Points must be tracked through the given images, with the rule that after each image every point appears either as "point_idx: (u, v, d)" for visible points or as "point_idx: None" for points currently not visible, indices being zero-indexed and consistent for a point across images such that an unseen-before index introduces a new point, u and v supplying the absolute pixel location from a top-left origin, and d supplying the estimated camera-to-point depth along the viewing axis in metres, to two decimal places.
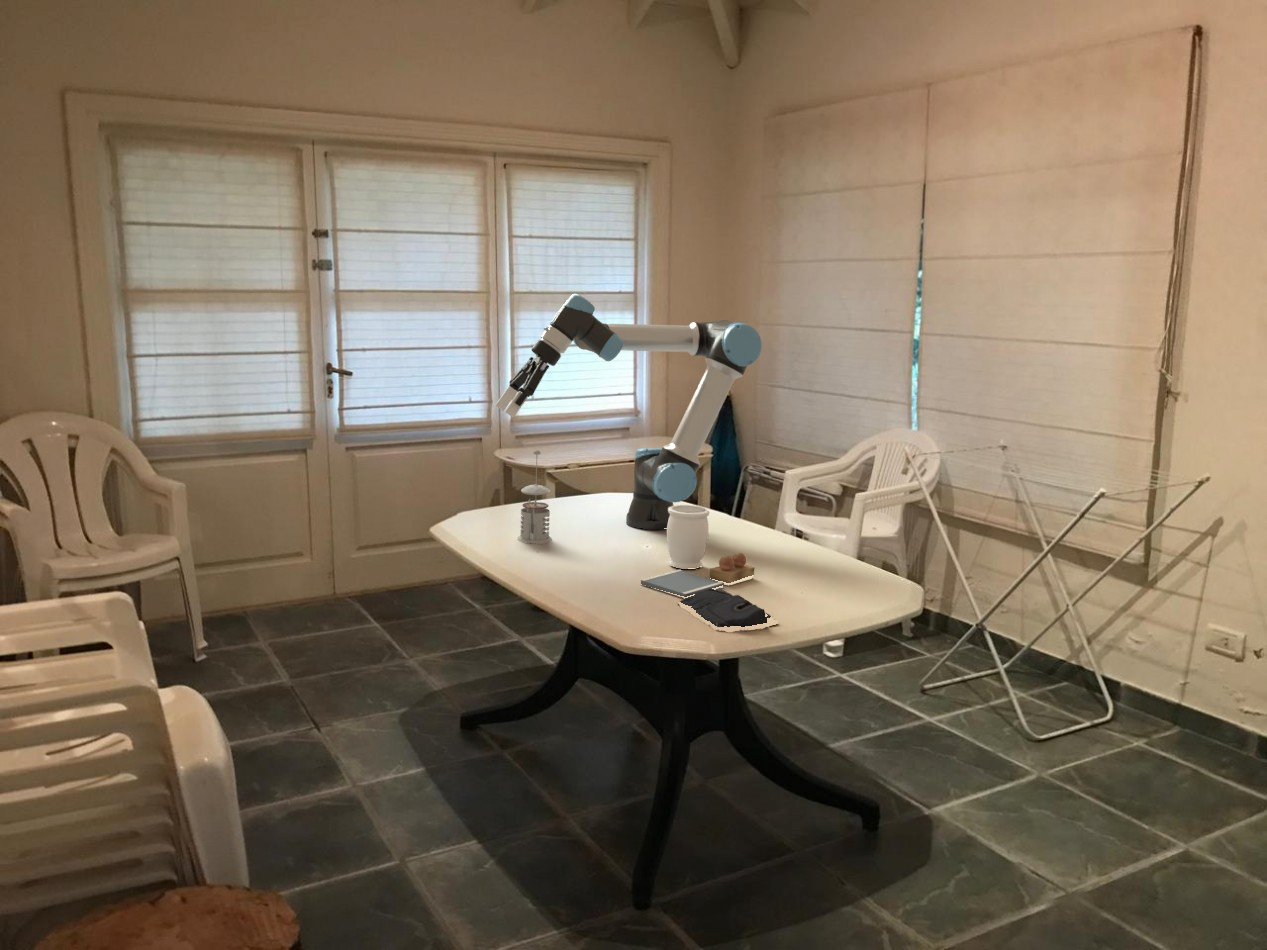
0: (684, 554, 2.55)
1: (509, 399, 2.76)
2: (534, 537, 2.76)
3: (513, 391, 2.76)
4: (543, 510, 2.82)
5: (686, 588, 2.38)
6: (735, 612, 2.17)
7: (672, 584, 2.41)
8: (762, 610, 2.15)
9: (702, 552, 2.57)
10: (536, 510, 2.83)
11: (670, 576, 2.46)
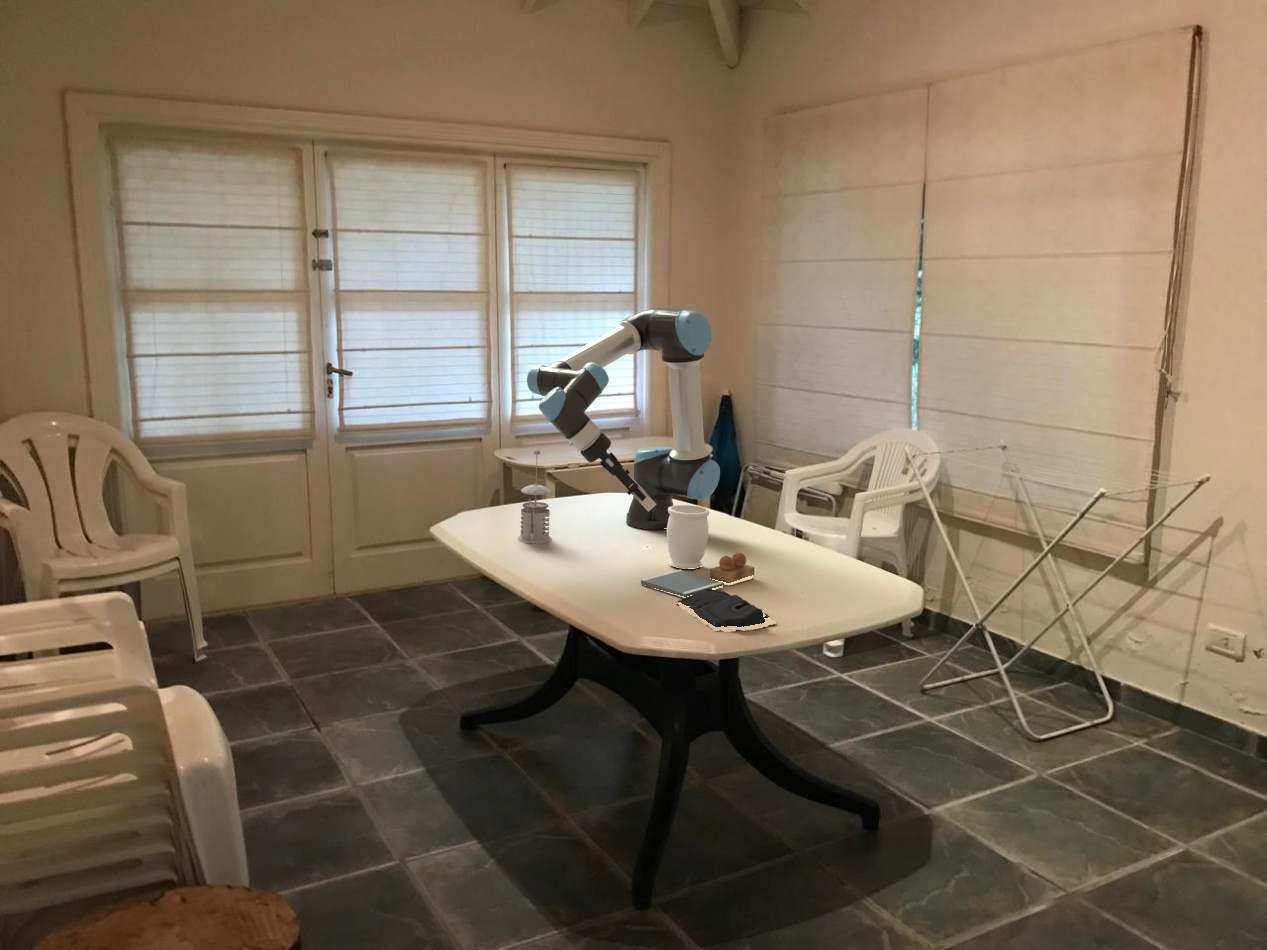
0: (684, 554, 2.55)
1: None
2: (534, 537, 2.76)
3: None
4: (543, 510, 2.82)
5: (686, 588, 2.38)
6: (733, 612, 2.17)
7: (672, 584, 2.41)
8: (760, 610, 2.15)
9: (702, 552, 2.57)
10: (536, 510, 2.83)
11: (670, 576, 2.46)
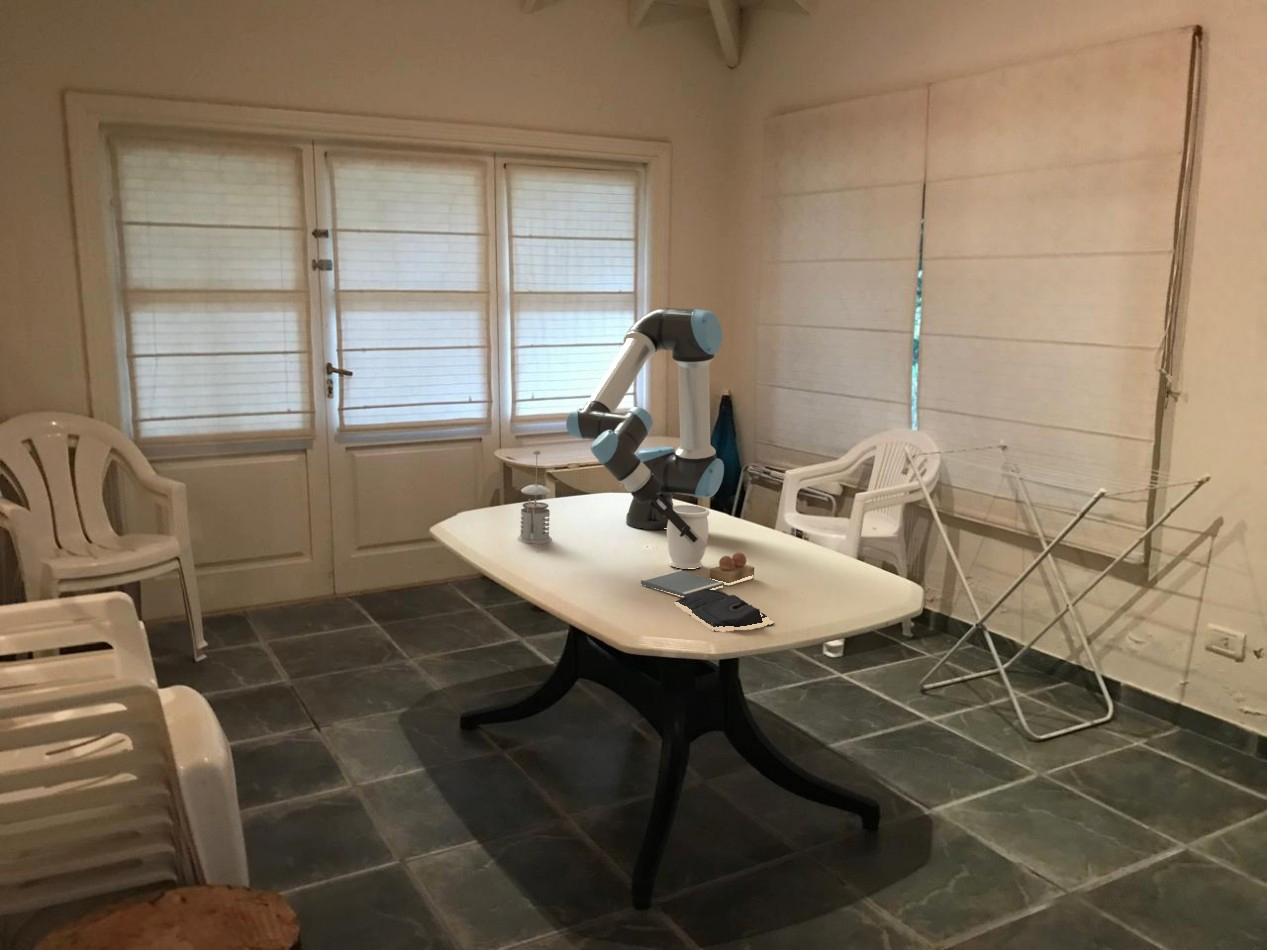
0: (684, 554, 2.55)
1: None
2: (534, 537, 2.76)
3: None
4: (543, 510, 2.82)
5: (686, 588, 2.38)
6: (730, 612, 2.17)
7: (672, 584, 2.41)
8: (757, 610, 2.15)
9: (702, 552, 2.57)
10: (536, 510, 2.83)
11: (670, 576, 2.46)
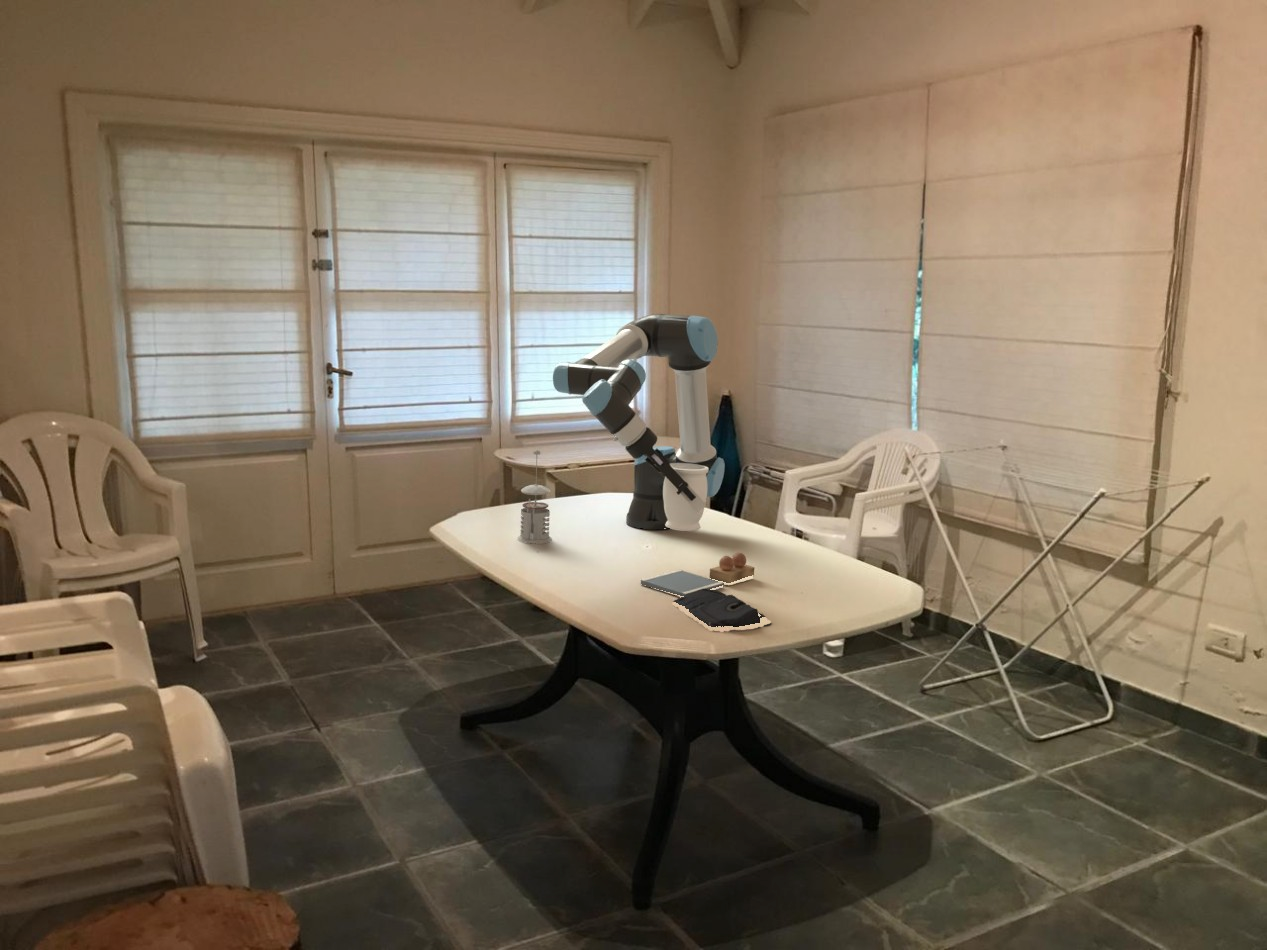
0: (681, 513, 2.39)
1: None
2: (534, 537, 2.76)
3: None
4: (543, 510, 2.82)
5: (686, 588, 2.38)
6: (728, 612, 2.17)
7: (672, 584, 2.41)
8: (755, 610, 2.15)
9: (700, 512, 2.41)
10: (536, 510, 2.83)
11: (670, 576, 2.46)
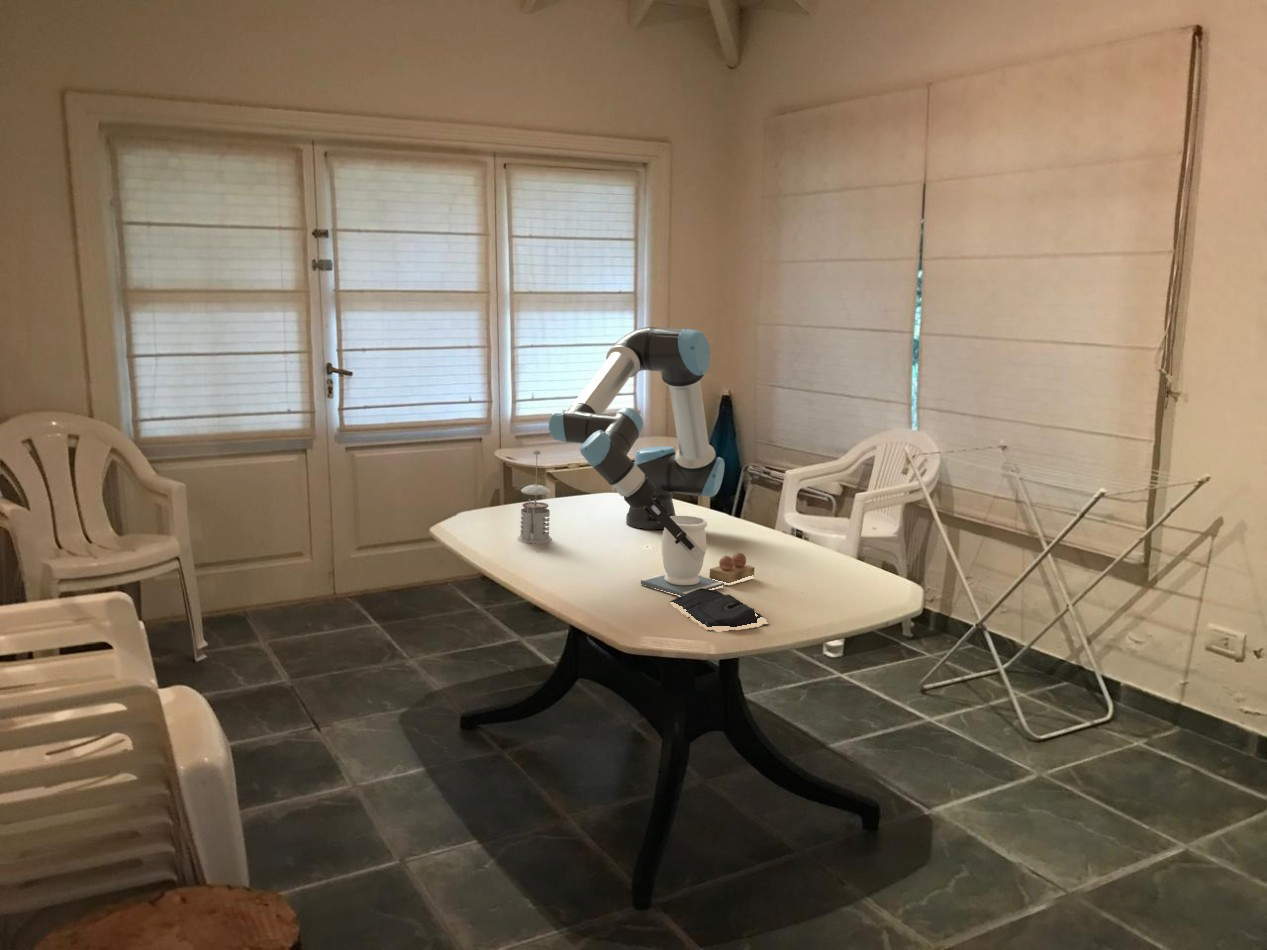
0: (680, 568, 2.38)
1: None
2: (534, 537, 2.76)
3: None
4: (543, 510, 2.82)
5: (686, 588, 2.38)
6: (725, 612, 2.17)
7: (672, 584, 2.41)
8: (752, 610, 2.15)
9: (699, 566, 2.40)
10: (536, 510, 2.83)
11: None
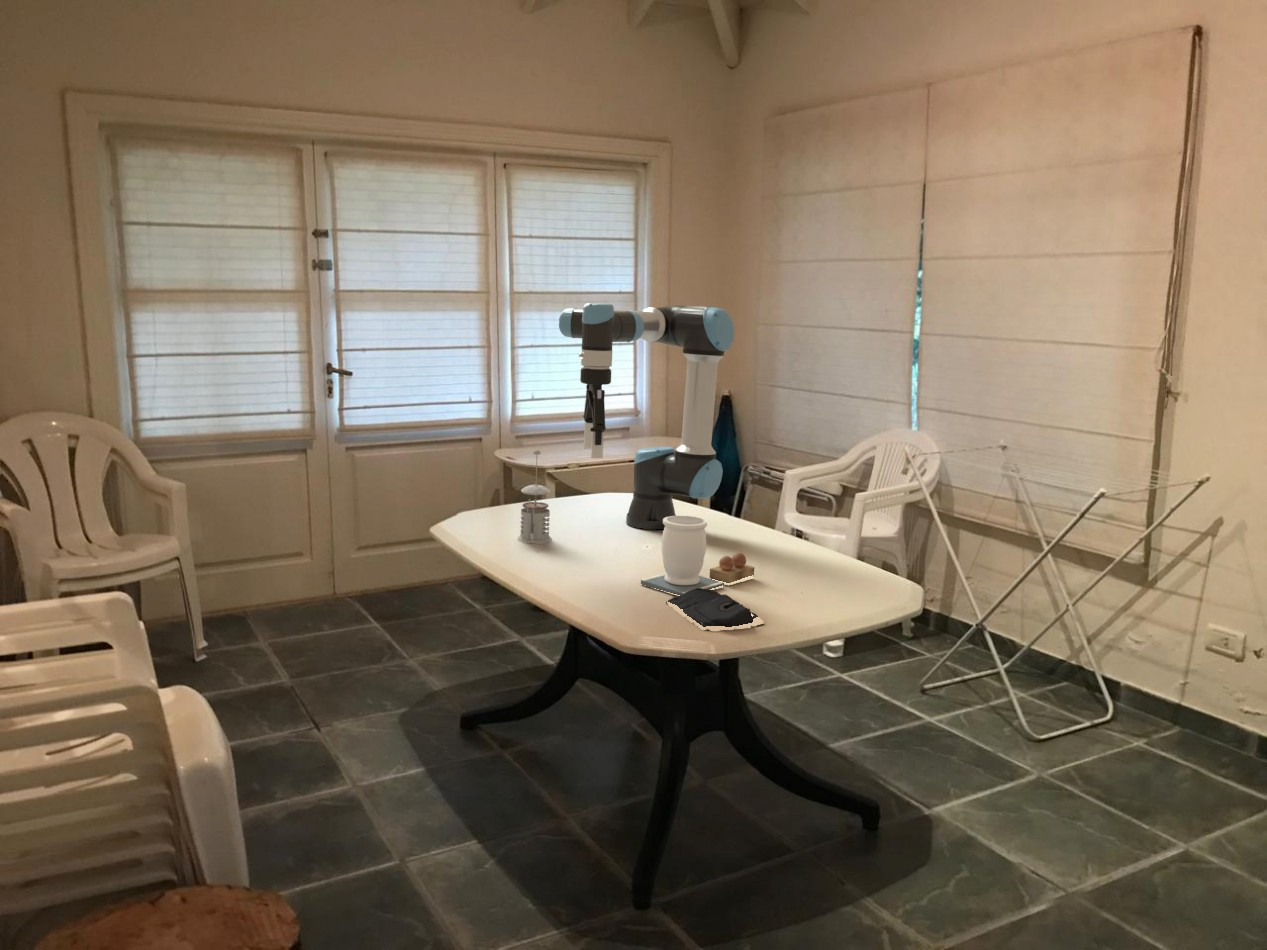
0: (680, 568, 2.38)
1: None
2: (534, 537, 2.76)
3: (591, 425, 2.57)
4: (543, 510, 2.82)
5: (686, 588, 2.38)
6: (721, 612, 2.17)
7: (672, 584, 2.41)
8: (748, 610, 2.15)
9: (700, 566, 2.40)
10: (536, 510, 2.83)
11: None
